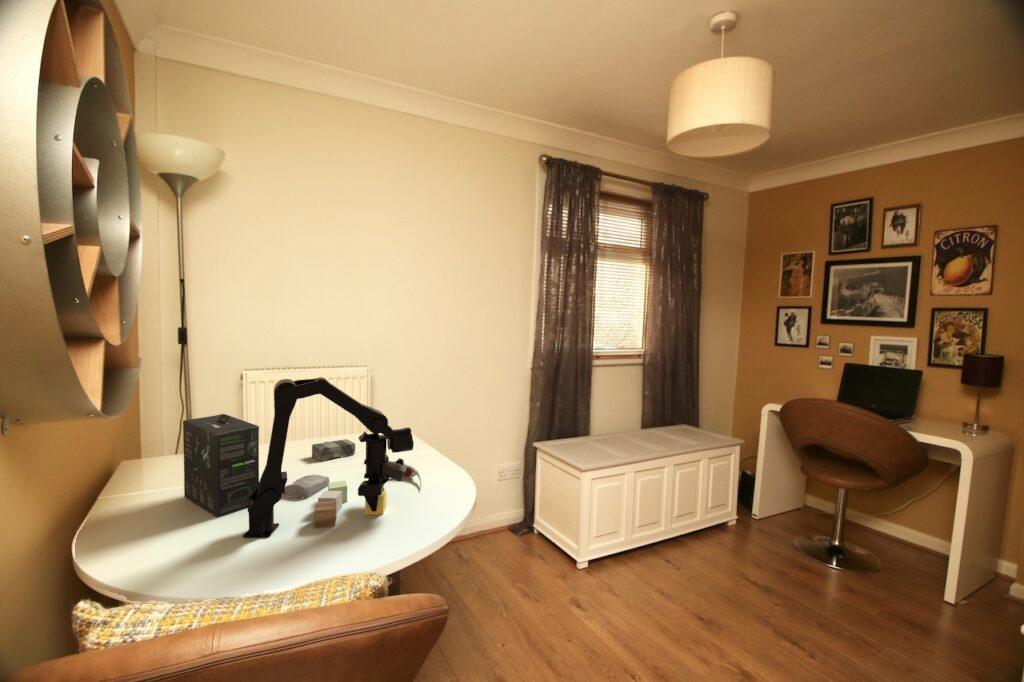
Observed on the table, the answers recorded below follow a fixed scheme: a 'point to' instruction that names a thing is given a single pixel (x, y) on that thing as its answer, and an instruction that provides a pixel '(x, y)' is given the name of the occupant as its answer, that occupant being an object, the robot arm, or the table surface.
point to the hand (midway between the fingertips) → (376, 507)
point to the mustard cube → (380, 506)
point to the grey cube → (331, 498)
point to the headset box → (220, 463)
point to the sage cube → (339, 488)
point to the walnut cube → (325, 514)
